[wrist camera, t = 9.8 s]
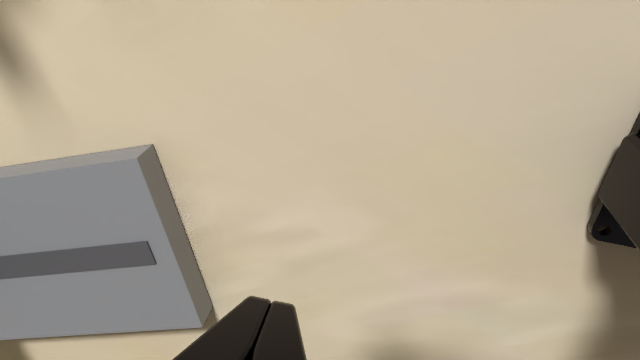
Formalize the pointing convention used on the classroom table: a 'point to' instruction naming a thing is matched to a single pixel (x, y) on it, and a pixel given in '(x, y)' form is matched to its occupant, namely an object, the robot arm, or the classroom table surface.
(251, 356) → the robot arm
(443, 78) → the classroom table surface
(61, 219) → the fader board
